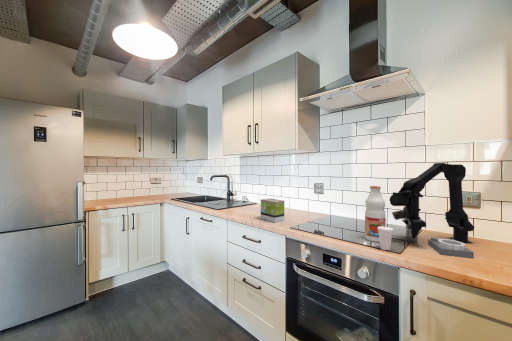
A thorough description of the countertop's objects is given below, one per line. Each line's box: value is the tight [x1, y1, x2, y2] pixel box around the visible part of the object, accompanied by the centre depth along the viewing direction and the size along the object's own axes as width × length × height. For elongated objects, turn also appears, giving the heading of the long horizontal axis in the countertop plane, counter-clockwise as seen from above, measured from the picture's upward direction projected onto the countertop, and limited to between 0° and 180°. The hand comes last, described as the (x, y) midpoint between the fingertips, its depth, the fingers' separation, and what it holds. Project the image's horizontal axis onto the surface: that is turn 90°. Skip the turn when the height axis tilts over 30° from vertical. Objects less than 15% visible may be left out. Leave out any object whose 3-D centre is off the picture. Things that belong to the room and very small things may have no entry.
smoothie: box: [378, 217, 394, 251], centre depth 100 cm, size 6×6×14 cm
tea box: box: [260, 198, 285, 224], centre depth 157 cm, size 15×10×15 cm, turn 42°
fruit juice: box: [364, 185, 386, 243], centre depth 114 cm, size 9×9×28 cm
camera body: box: [427, 236, 475, 259], centre depth 99 cm, size 14×11×4 cm
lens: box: [405, 224, 419, 245], centre depth 110 cm, size 5×5×8 cm
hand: (411, 236), depth 110 cm, fingers closed on lens, 5 cm apart
